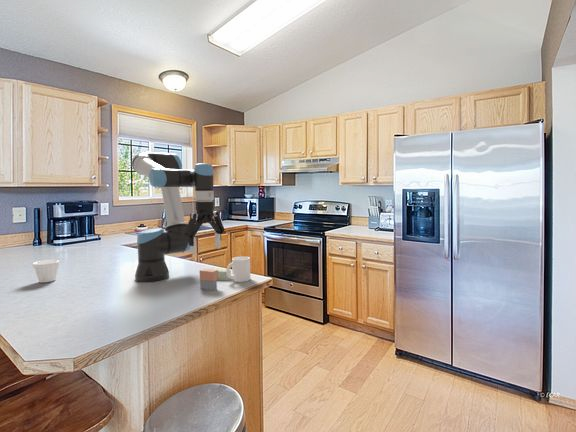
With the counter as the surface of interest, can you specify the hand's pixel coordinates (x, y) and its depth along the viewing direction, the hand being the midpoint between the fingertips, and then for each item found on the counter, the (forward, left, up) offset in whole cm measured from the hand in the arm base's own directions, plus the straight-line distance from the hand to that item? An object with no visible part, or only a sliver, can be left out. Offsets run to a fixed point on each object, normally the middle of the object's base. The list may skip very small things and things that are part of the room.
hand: (206, 250), depth 136 cm
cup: (-72, -33, -16) cm, 81 cm away
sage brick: (-5, +14, -16) cm, 22 cm away
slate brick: (+1, 0, -16) cm, 16 cm away
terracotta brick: (+1, 0, -12) cm, 12 cm away
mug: (+4, +15, -16) cm, 23 cm away
